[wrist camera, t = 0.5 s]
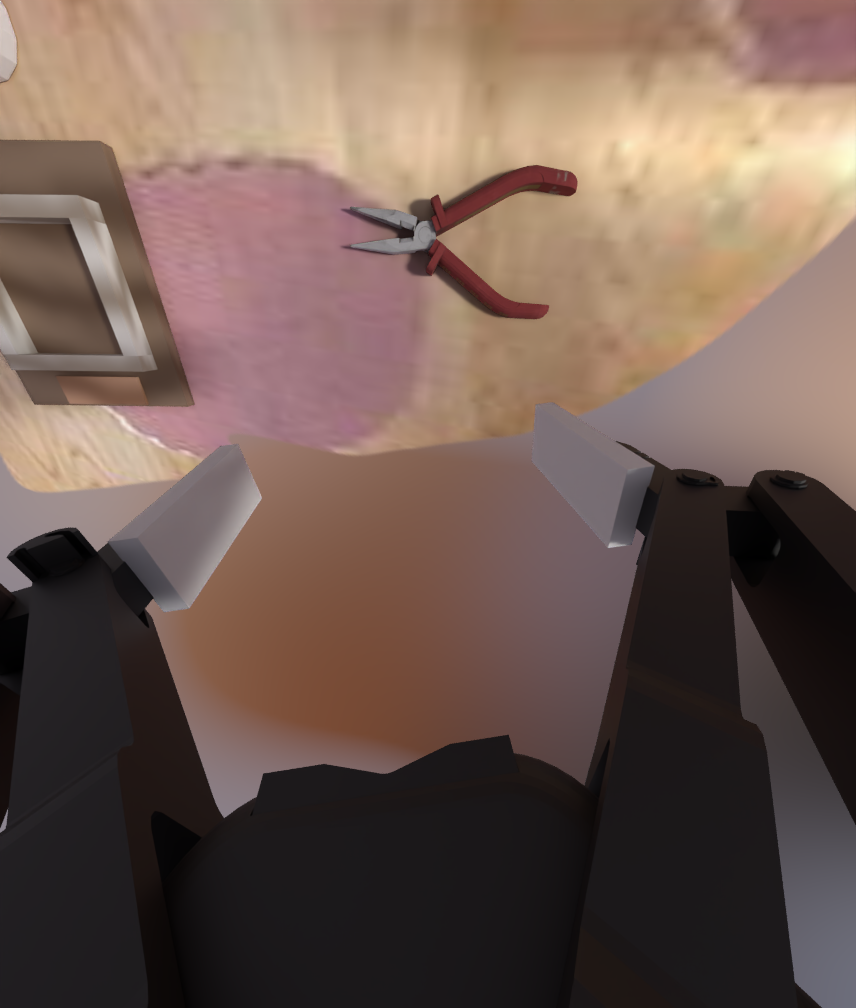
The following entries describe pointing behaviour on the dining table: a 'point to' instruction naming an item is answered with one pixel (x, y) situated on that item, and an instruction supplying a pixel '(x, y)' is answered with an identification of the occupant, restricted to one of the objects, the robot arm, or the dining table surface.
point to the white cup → (7, 45)
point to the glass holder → (79, 282)
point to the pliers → (458, 213)
